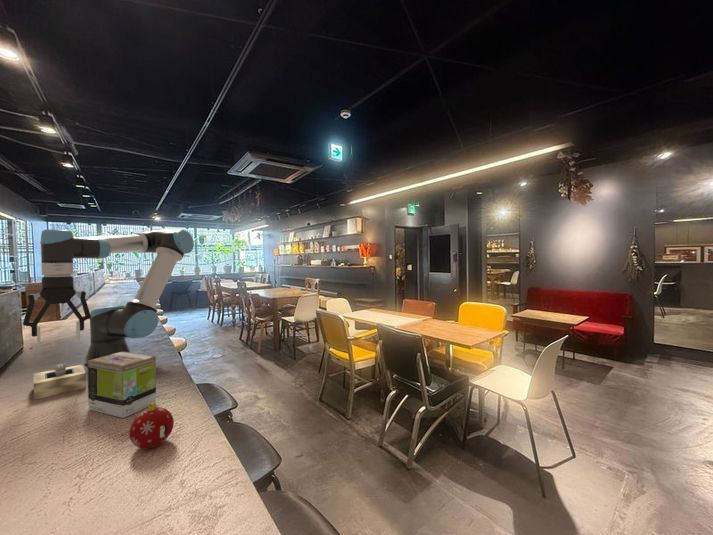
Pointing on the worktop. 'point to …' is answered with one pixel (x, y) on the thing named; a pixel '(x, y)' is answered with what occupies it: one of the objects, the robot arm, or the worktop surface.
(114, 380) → the tea box
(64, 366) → the rook chess piece
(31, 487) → the worktop surface
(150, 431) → the christmas ornament
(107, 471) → the worktop surface
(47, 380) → the socket block
